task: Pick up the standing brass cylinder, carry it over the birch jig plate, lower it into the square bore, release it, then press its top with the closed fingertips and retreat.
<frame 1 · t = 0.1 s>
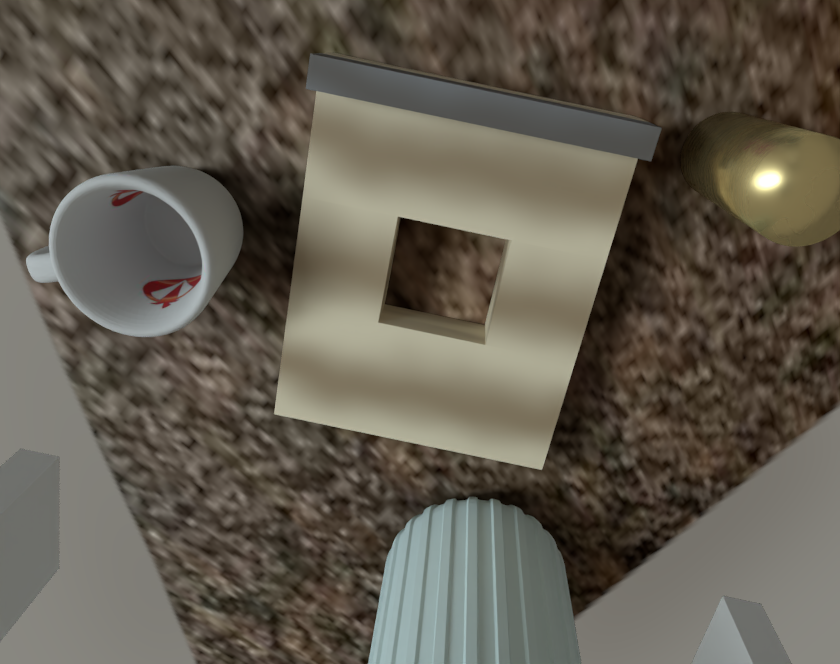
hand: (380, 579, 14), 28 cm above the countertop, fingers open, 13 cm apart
vase: (474, 548, 48), on the countertop
brass cylinder: (723, 155, 37), on the countertop
jig: (445, 266, 41), on the countertop
cup: (170, 224, 41), on the countertop
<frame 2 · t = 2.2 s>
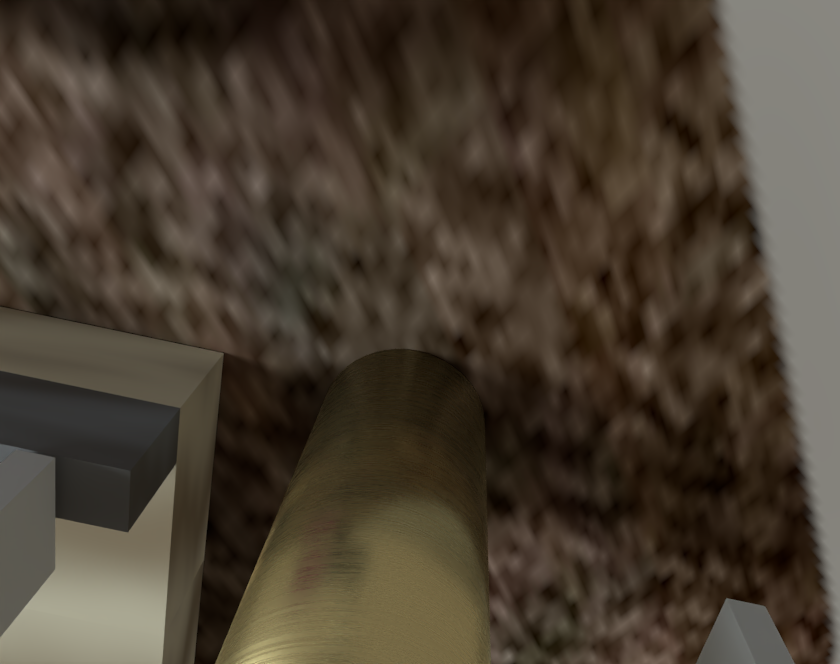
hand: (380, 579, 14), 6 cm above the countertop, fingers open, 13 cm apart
brass cylinder: (402, 423, 19), on the countertop
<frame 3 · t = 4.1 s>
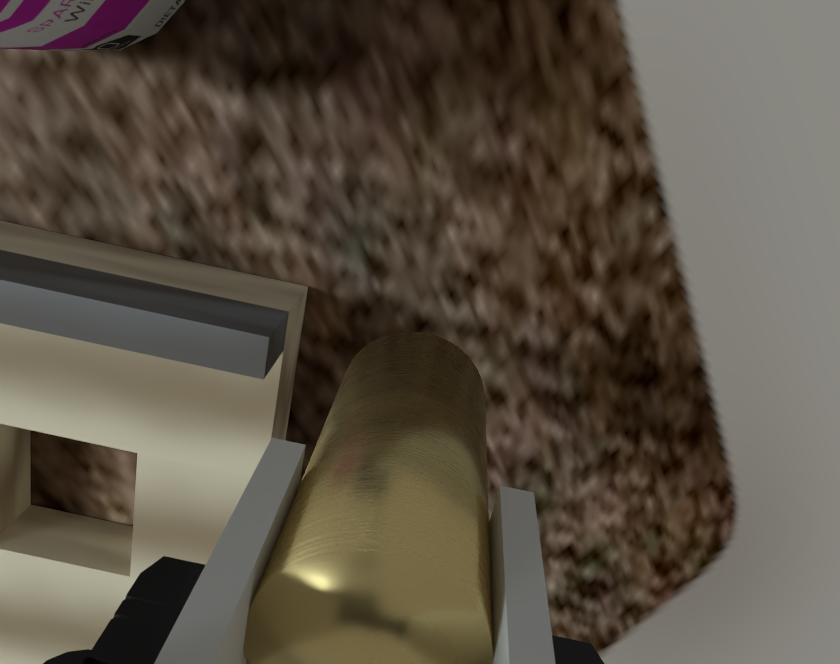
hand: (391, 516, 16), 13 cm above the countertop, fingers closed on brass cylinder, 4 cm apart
brass cylinder: (412, 398, 22), point 6 cm above the countertop, touching gripper
jig: (97, 462, 31), on the countertop
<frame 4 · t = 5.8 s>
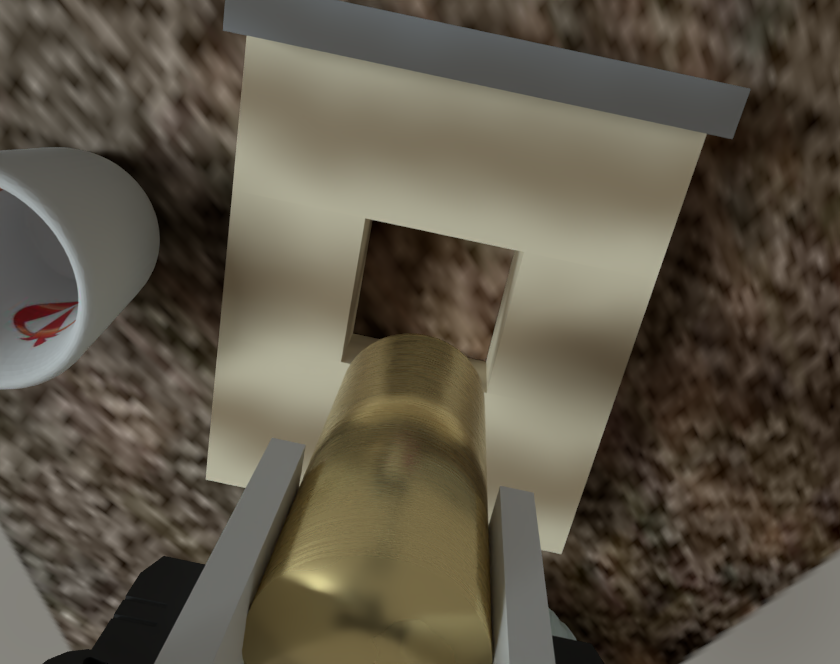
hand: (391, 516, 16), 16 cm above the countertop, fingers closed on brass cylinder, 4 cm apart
vase: (472, 637, 38), on the countertop
brass cylinder: (412, 400, 22), point 9 cm above the countertop, touching gripper
jig: (433, 284, 30), on the countertop
cup: (66, 227, 31), on the countertop
when the fingers open (4 cm above the countertop, at t = 7.6 s): brass cylinder stays where it is, resting in jig.
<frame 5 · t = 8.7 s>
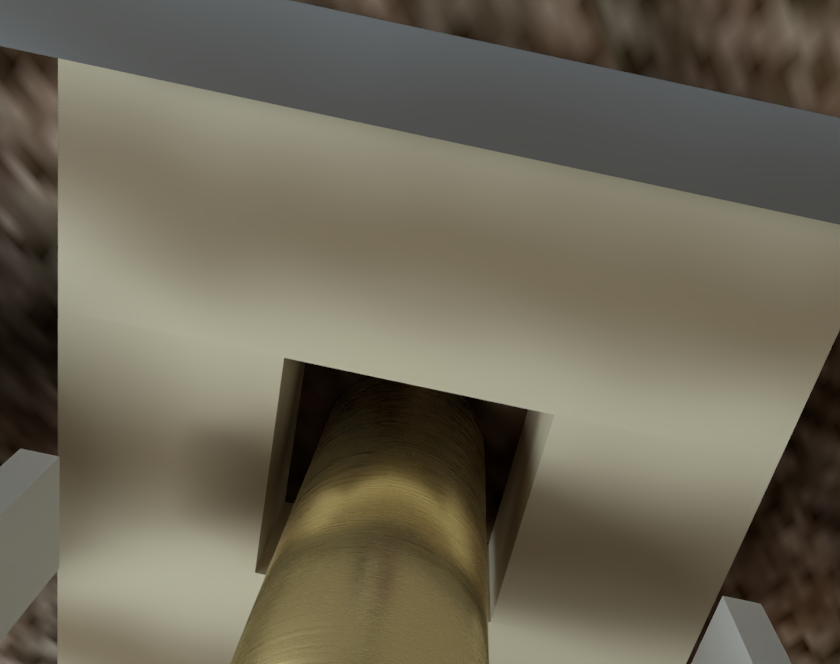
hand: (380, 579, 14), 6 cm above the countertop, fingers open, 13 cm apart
brass cylinder: (404, 444, 20), resting in jig
jig: (406, 434, 19), on the countertop
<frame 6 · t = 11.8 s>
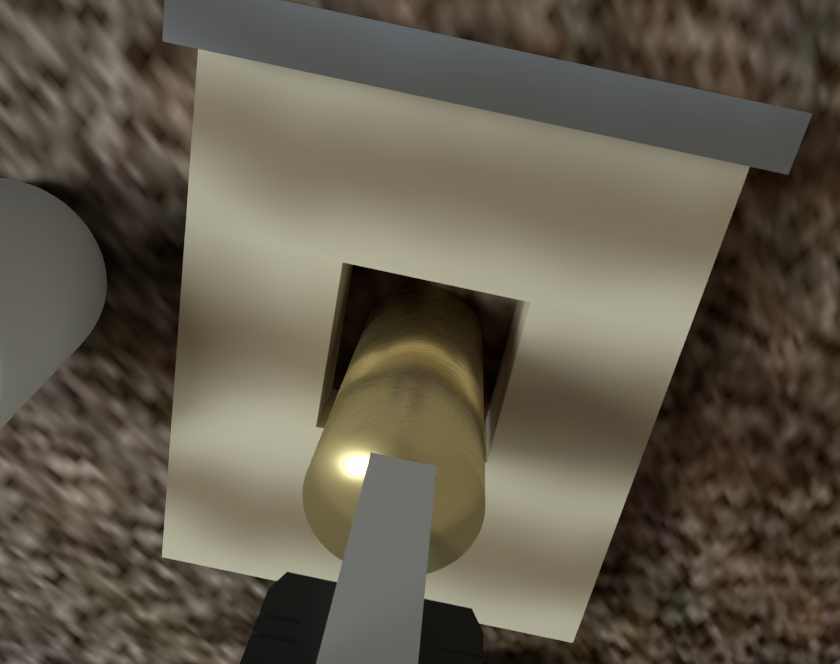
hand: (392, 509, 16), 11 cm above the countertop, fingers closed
brass cylinder: (422, 341, 26), resting in jig
jig: (424, 333, 26), on the countertop
cup: (1, 266, 27), on the countertop
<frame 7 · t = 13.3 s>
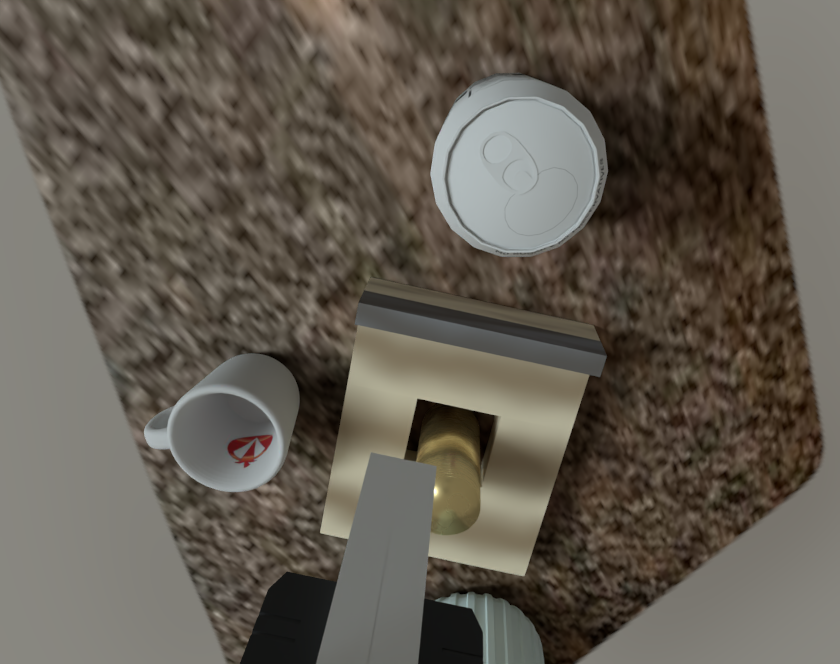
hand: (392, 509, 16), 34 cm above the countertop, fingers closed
vase: (472, 627, 61), on the countertop
supplement can: (506, 139, 46), on the countertop
brass cylinder: (450, 427, 54), resting in jig
jig: (451, 423, 54), on the countertop
cup: (243, 389, 54), on the countertop
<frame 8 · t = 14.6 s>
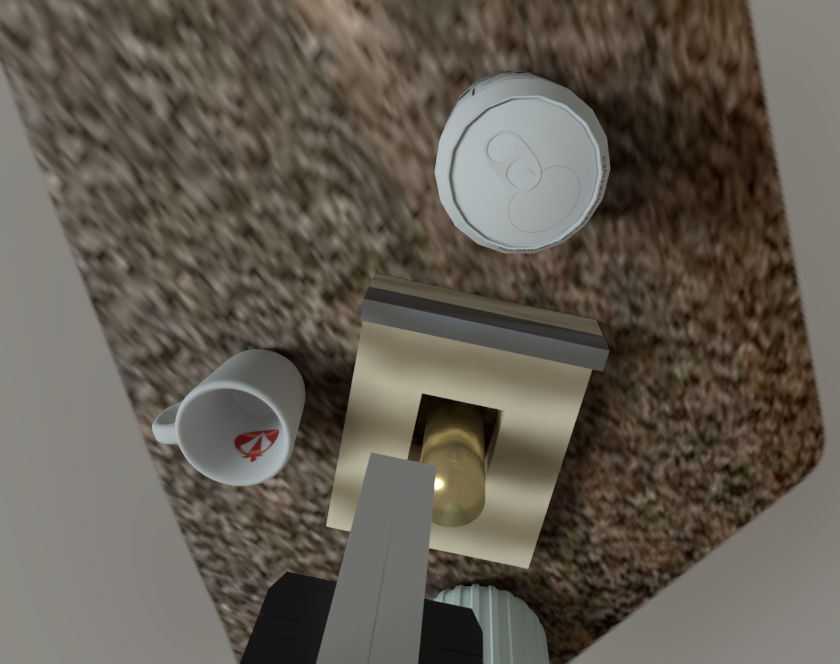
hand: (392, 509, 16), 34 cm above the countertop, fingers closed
vase: (476, 619, 62), on the countertop
supplement can: (509, 136, 46), on the countertop
brass cylinder: (454, 421, 54), resting in jig
jig: (455, 417, 54), on the countertop
cup: (249, 384, 55), on the countertop
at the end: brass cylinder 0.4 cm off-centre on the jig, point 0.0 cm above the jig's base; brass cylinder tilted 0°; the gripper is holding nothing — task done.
